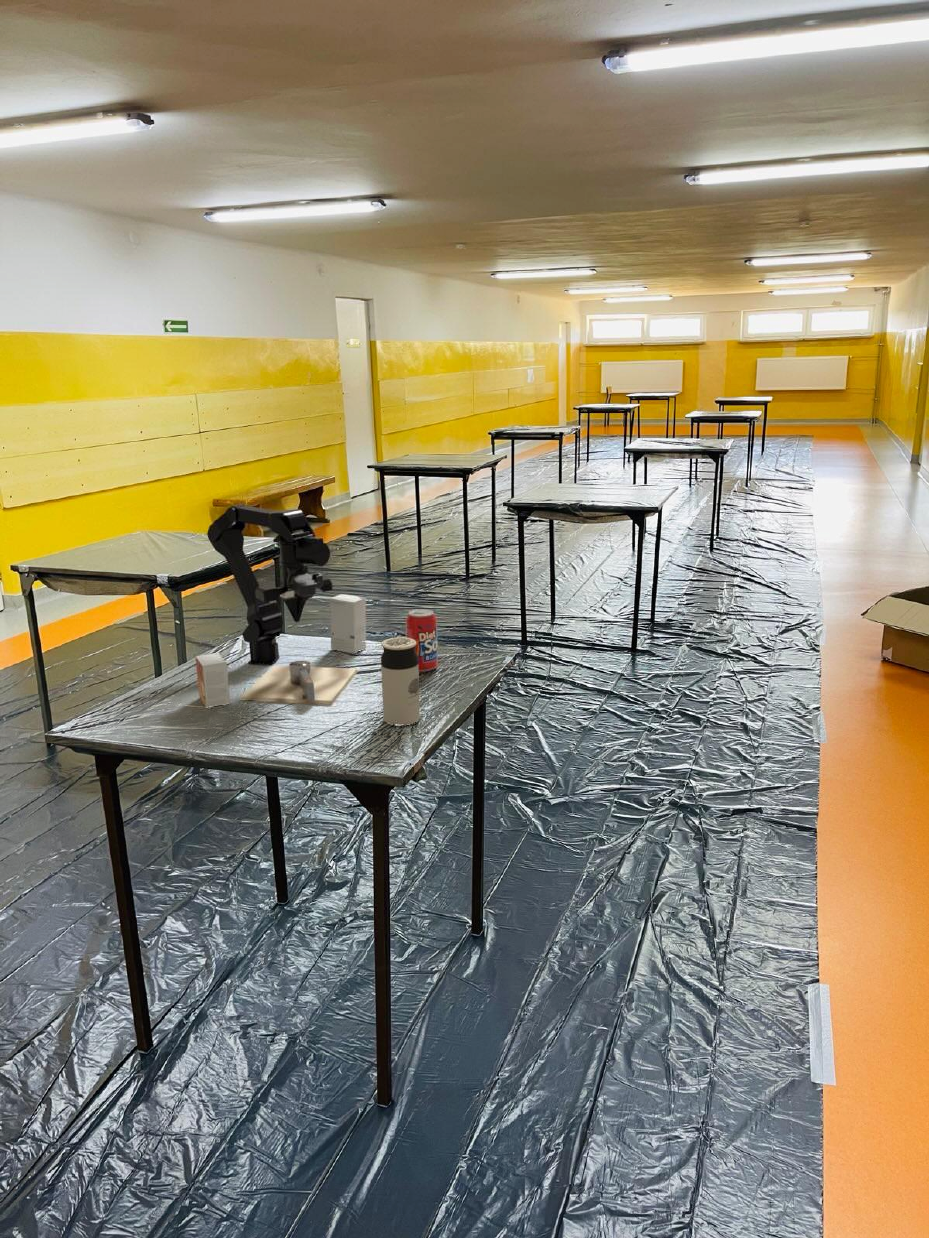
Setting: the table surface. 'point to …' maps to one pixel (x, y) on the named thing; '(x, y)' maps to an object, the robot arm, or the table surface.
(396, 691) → the travel mug
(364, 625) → the skincare box
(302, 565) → the robot arm
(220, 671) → the small box
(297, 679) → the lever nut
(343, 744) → the table surface
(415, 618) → the soda can
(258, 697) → the base plate
